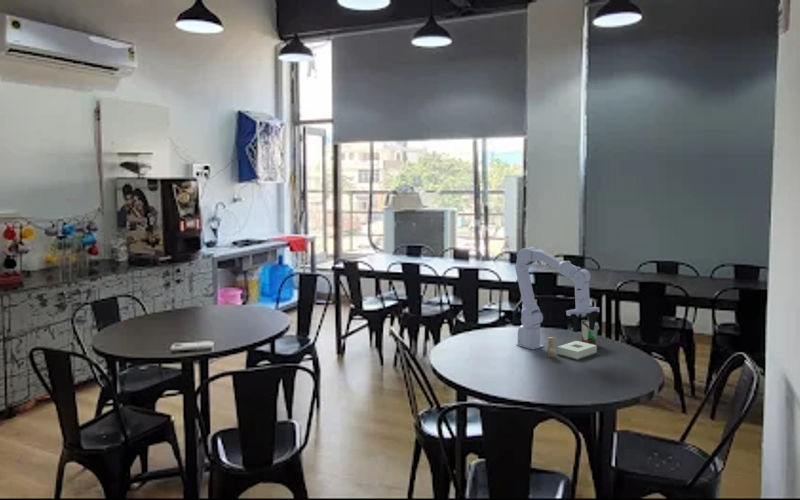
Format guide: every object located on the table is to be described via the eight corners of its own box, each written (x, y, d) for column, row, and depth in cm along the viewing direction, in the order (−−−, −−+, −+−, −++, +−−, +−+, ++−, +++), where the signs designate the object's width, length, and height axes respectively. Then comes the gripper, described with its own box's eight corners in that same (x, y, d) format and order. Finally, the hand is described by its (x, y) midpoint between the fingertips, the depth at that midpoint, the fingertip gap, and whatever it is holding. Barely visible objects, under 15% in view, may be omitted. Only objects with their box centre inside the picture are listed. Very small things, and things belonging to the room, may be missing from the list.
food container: (602, 348, 276) (603, 326, 275) (588, 348, 276) (588, 326, 275) (594, 341, 288) (594, 319, 287) (580, 341, 288) (581, 319, 287)
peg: (545, 356, 265) (546, 337, 264) (550, 354, 267) (551, 336, 266) (552, 358, 263) (552, 339, 262) (556, 356, 265) (557, 338, 264)
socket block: (557, 354, 268) (557, 346, 267) (576, 348, 277) (576, 340, 276) (577, 359, 260) (577, 351, 260) (596, 353, 269) (596, 345, 269)
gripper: (572, 301, 257) (573, 334, 258) (603, 298, 261) (604, 330, 262) (562, 299, 264) (564, 331, 265) (593, 295, 267) (594, 327, 269)
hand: (583, 330), depth 264 cm, fingers open, 7 cm apart
